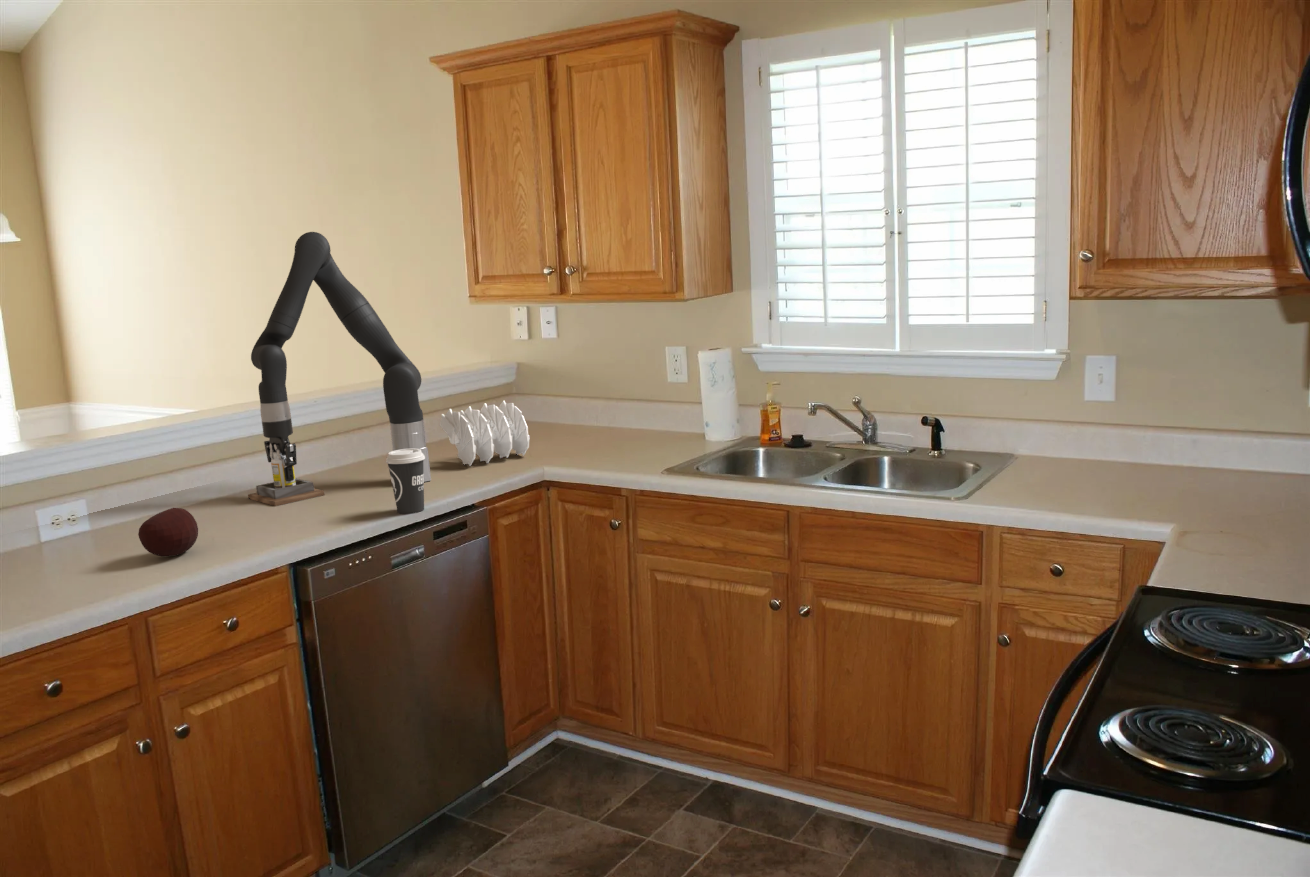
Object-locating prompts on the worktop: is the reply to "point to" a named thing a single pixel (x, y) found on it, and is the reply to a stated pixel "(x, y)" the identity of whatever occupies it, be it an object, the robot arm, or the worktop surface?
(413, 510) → the coffee cup
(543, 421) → the worktop surface
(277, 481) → the supplement bottle
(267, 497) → the holder
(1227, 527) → the worktop surface
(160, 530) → the potato
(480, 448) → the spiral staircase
